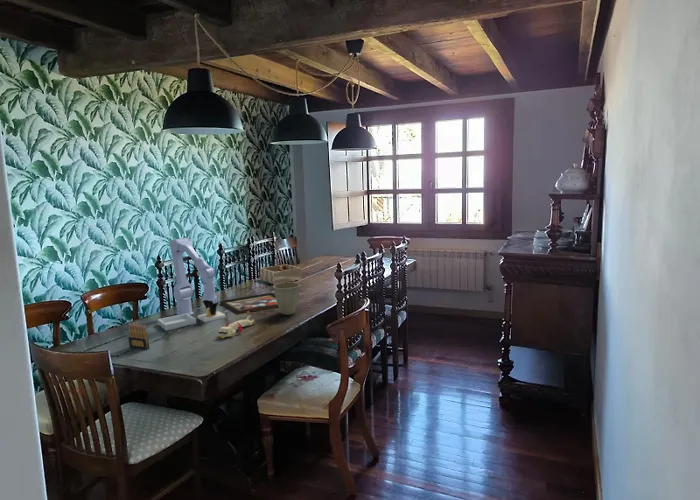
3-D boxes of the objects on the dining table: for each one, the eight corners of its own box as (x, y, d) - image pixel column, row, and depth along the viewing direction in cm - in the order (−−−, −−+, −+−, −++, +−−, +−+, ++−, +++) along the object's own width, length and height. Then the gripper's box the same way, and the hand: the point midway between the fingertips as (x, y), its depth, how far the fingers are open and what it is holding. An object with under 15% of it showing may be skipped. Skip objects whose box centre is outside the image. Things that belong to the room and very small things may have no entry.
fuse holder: (197, 318, 265) (197, 315, 265) (218, 314, 273) (218, 311, 272) (204, 322, 258) (204, 319, 257) (225, 318, 265) (225, 314, 264)
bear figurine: (271, 279, 364) (270, 263, 362) (291, 278, 366) (290, 262, 364) (271, 283, 350) (270, 267, 348) (291, 281, 353) (290, 265, 351)
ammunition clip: (129, 347, 224) (126, 322, 222) (132, 346, 225) (129, 321, 223) (146, 349, 219) (143, 324, 217) (149, 348, 221) (146, 323, 219)
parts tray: (158, 324, 258) (157, 319, 257) (187, 318, 267) (187, 313, 267) (165, 330, 247) (165, 325, 246) (196, 324, 256) (195, 318, 256)
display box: (260, 279, 362) (259, 268, 361) (286, 275, 375) (285, 264, 374) (274, 284, 344) (274, 272, 343) (301, 279, 357) (300, 268, 355)
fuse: (206, 318, 265) (205, 308, 264) (214, 316, 267) (213, 306, 267) (208, 319, 262) (207, 309, 262) (216, 317, 265) (215, 307, 264)
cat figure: (242, 325, 255) (212, 337, 231) (242, 309, 254) (211, 319, 231) (258, 327, 251) (229, 339, 228) (258, 311, 250) (229, 321, 227)
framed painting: (240, 317, 267) (240, 312, 267) (214, 306, 294) (214, 301, 294) (298, 304, 291) (297, 300, 291) (268, 295, 318) (268, 291, 318)
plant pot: (276, 317, 262) (275, 289, 259) (273, 310, 276) (271, 283, 273) (303, 314, 266) (302, 286, 263) (298, 308, 280) (297, 281, 278)
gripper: (221, 290, 259) (223, 314, 261) (211, 286, 271) (213, 309, 273) (208, 292, 255) (210, 317, 257) (199, 288, 266) (201, 312, 269)
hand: (211, 313), depth 265 cm, fingers open, 5 cm apart
